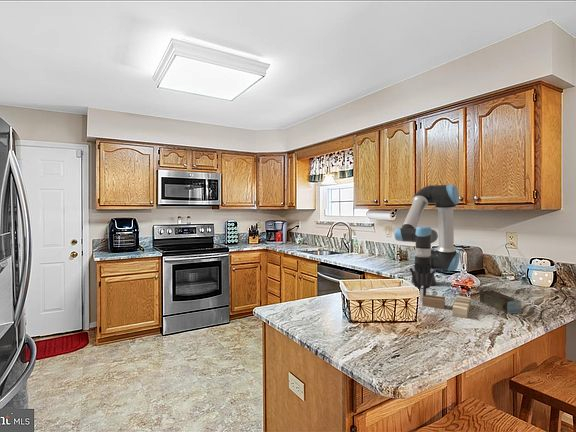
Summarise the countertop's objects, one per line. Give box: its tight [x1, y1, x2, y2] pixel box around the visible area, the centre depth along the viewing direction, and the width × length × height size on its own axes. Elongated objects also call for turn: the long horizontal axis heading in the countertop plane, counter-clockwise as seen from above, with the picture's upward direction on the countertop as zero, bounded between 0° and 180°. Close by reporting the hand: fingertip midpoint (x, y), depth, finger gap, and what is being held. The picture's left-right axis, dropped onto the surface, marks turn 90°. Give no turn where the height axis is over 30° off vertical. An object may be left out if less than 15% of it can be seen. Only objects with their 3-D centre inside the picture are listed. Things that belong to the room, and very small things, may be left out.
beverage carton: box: [479, 290, 522, 314], centre depth 172 cm, size 8×19×7 cm, turn 8°
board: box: [451, 295, 472, 319], centre depth 166 cm, size 24×6×4 cm, turn 148°
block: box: [421, 294, 446, 310], centre depth 173 cm, size 7×10×4 cm
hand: (421, 300), depth 177 cm, fingers closed
